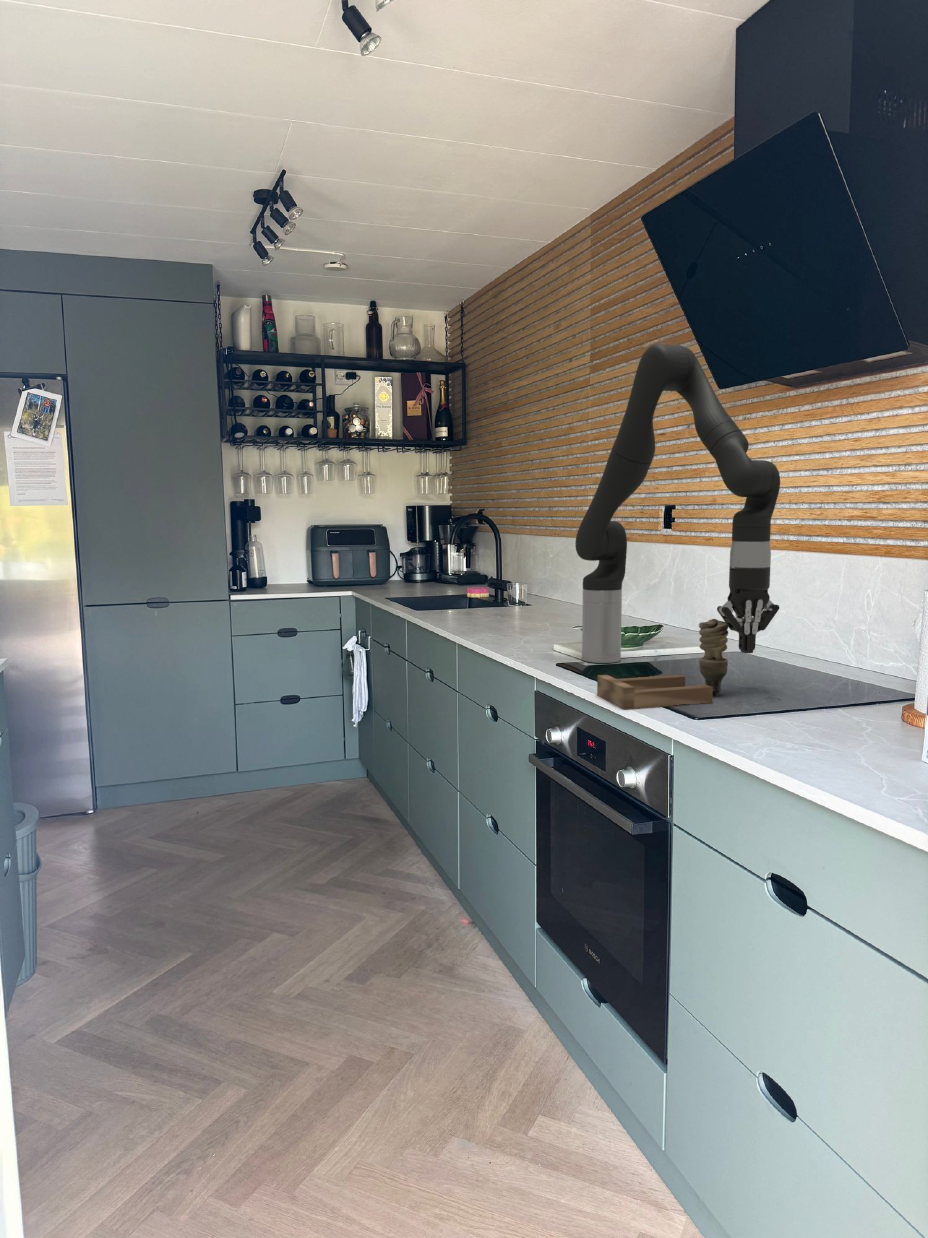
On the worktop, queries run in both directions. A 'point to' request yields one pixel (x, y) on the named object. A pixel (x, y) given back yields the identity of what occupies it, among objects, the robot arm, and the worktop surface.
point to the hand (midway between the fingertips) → (746, 652)
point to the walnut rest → (651, 691)
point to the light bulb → (713, 652)
